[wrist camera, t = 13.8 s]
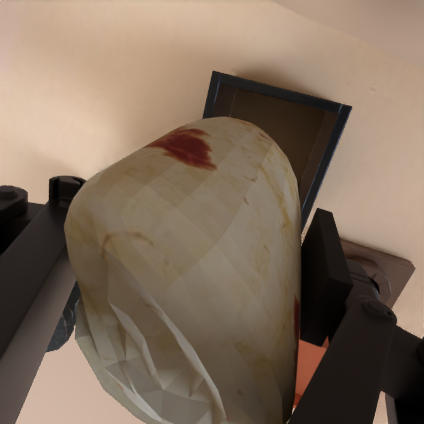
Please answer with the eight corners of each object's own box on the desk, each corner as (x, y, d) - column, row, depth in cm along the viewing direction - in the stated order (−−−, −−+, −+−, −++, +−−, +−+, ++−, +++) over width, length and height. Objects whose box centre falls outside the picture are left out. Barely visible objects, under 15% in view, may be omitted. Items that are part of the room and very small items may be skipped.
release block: (410, 261, 36) (422, 277, 33) (380, 313, 39) (387, 332, 36) (325, 234, 37) (328, 247, 34) (302, 286, 41) (303, 303, 37)
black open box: (337, 103, 32) (352, 106, 24) (296, 212, 37) (297, 245, 29) (232, 76, 34) (212, 70, 26) (206, 184, 39) (182, 208, 31)
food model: (317, 209, 25) (377, 523, 7) (242, 234, 27) (136, 514, 9) (271, 92, 23) (177, 87, 5) (194, 130, 25) (-72, 228, 7)
